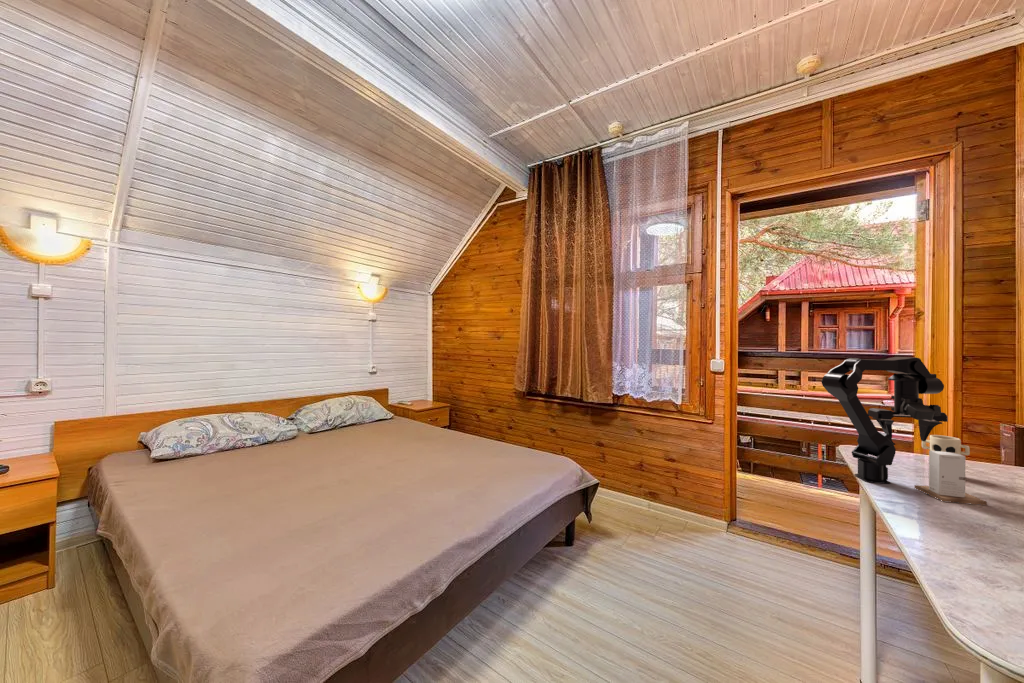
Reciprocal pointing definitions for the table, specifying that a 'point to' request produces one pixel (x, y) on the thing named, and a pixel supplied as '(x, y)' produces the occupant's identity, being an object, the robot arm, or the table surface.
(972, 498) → the walnut coaster
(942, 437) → the character mug
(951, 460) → the skincare box
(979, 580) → the table surface
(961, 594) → the table surface
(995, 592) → the table surface
